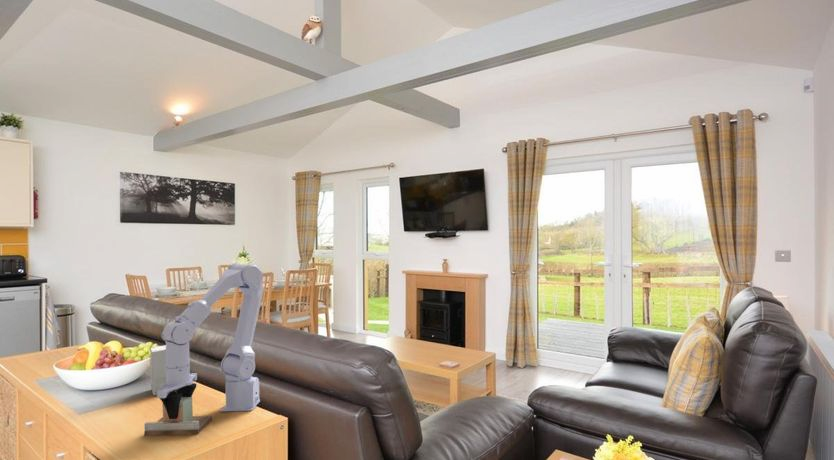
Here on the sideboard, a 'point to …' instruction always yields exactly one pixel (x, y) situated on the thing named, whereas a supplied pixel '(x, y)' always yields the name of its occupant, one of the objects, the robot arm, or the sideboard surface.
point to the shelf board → (202, 424)
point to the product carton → (181, 411)
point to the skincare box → (158, 368)
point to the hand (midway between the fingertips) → (178, 414)
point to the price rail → (171, 425)
